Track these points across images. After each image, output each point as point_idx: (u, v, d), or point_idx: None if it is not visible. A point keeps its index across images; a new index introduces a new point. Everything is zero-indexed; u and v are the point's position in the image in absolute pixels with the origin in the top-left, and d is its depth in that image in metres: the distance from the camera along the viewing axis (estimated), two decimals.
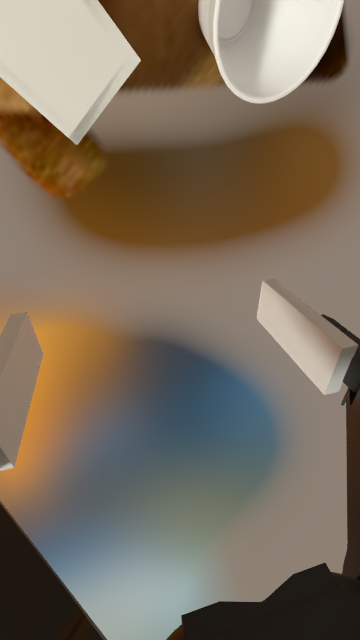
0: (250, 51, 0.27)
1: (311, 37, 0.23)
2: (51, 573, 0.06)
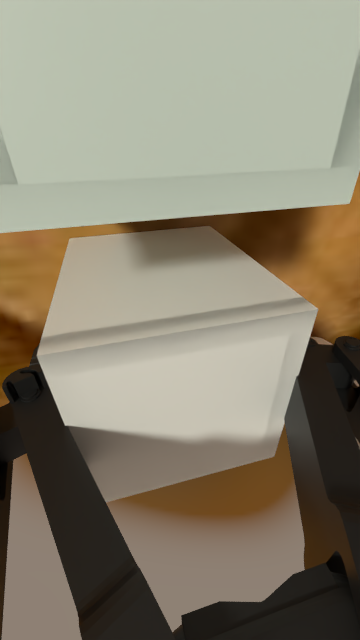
0: None
1: None
2: (114, 521, 0.06)
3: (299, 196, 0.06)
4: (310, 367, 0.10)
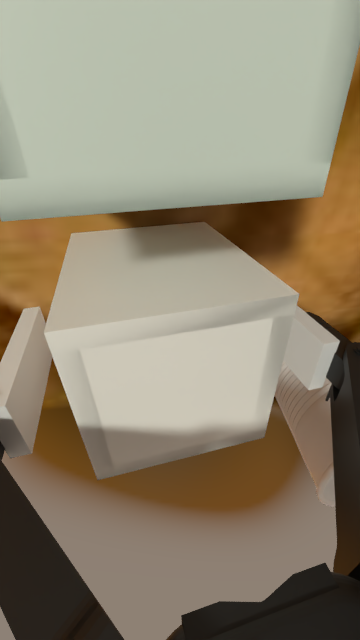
0: None
1: None
2: (66, 558, 0.06)
3: (276, 190, 0.07)
4: None
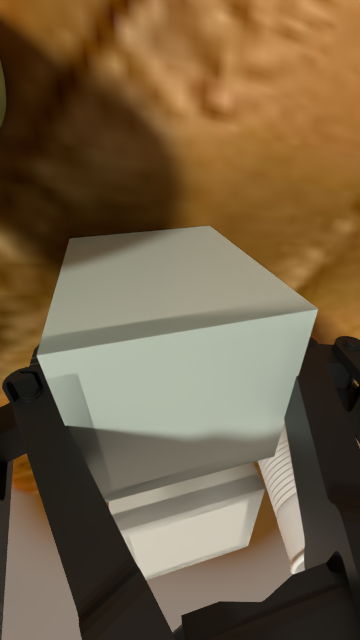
0: None
1: None
2: (114, 521, 0.06)
3: (246, 461, 0.12)
4: (310, 367, 0.10)
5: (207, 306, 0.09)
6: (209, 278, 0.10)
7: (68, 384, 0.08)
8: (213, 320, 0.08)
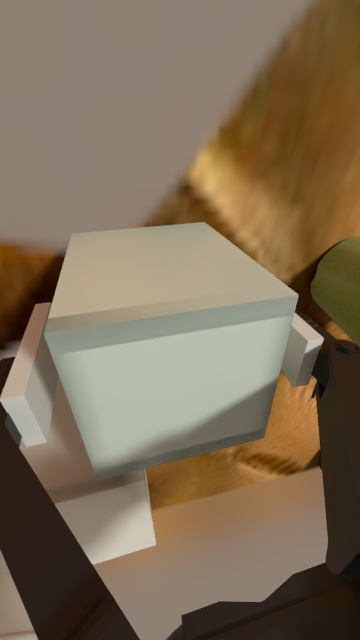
0: None
1: None
2: (79, 547, 0.06)
3: (237, 442, 0.13)
4: (351, 373, 0.10)
5: (198, 292, 0.09)
6: (201, 269, 0.11)
7: (71, 361, 0.08)
8: (203, 304, 0.09)
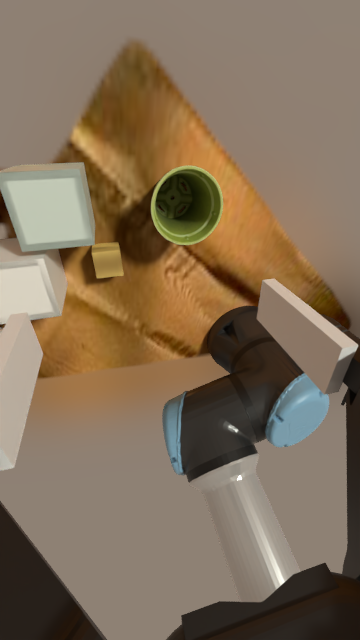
0: None
1: None
2: (51, 573, 0.06)
3: (81, 244, 0.32)
4: None
5: (48, 169, 0.29)
6: (58, 167, 0.30)
7: (4, 185, 0.28)
8: (46, 170, 0.28)
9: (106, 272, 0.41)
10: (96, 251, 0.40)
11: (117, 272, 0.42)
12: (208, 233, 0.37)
